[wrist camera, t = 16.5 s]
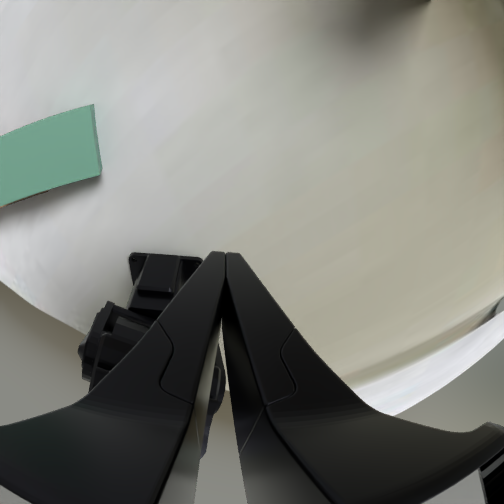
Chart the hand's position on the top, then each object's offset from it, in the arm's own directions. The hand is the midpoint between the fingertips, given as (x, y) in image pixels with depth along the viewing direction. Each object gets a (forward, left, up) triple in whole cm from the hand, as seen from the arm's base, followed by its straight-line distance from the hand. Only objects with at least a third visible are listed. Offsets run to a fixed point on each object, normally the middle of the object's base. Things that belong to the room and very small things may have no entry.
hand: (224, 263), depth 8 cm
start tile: (+1, +9, -11) cm, 15 cm away
